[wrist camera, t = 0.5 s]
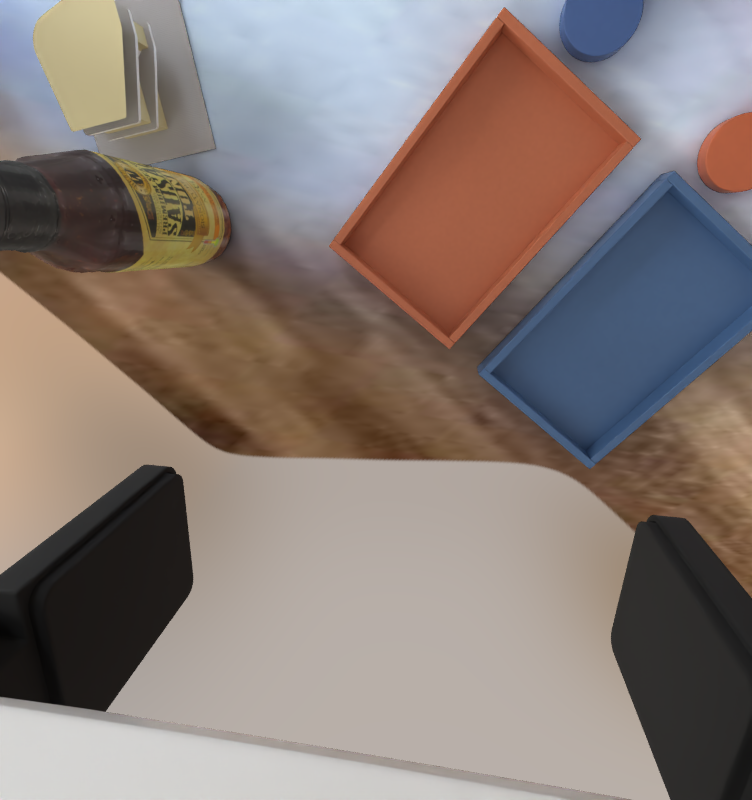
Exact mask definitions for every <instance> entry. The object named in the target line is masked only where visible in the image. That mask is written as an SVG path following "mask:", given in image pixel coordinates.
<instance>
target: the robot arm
mask: <svg viewBox="0 0 752 800" xmlns="http://www.w3.org/2000/svg"><path fill="white" fill-rule="evenodd" d="M192 585H193V570H192V561H191V551H190V542H189V532H188V524H187V513H186V504H185V495H184V486H183V479H182V477H181V476H180V475H179V474H176V472H175V470H174V469H173V468H172V467H166V466H155V465H143V466H141V467H140V468H139V469H138V470H136V471H135V472H134V473H132V474H131V475H130V476H128V477H127V478H126V479H124V480H123V481H122V482H121V483H119V484H118V485H117V486H115V487H114V488H113V489H111V490H110V491H109V492H108V493H106V494H105V495H104V496H102V497H101V498H100V499H98V500H97V501H96V502H94V503H93V504H92V505H91V506H90V507H88V508H87V509H85V510H84V511H83V512H81V513H80V514H79V515H78V516H76V517H75V518H74V519H72V520H71V521H70V522H68V523H67V524H66V525H65V526H63V527H62V528H61V529H60V530H58V531H57V532H55V533H54V534H53V535H51V536H50V537H49V538H48V539H46V540H45V541H44V542H42V543H41V544H40V545H38V546H37V547H36V548H35V549H33V550H32V551H31V552H29V553H28V554H27V555H25V556H24V557H23V558H22V559H20V560H19V561H18V562H16V563H15V564H14V565H12V566H11V567H10V568H8V569H7V570H6V571H5V572H3V573H2V574H1V575H0V800H630V799H624V798H619V797H614V796H607V795H602V794H596V793H591V792H585V791H579V790H573V789H567V788H562V787H556V786H550V785H544V784H538V783H533V782H527V781H521V780H515V779H509V778H504V777H497V776H492V775H486V774H480V773H474V772H469V771H463V770H457V769H451V768H445V767H440V766H434V765H428V764H422V763H416V762H410V761H404V760H397V759H392V758H385V757H380V756H374V755H368V754H362V753H356V752H350V751H344V750H338V749H332V748H326V747H320V746H313V745H308V744H302V743H295V742H289V741H283V740H277V739H271V738H265V737H259V736H253V735H247V734H240V733H235V732H228V731H222V730H215V729H210V728H203V727H197V726H190V725H185V724H178V723H171V722H165V721H159V720H153V719H147V718H141V717H133V716H128V715H121V714H115V713H109V712H106V710H107V709H108V707H109V706H110V705H111V703H112V702H113V700H114V699H115V698H116V696H117V695H118V693H119V692H120V691H121V689H122V688H123V686H124V685H125V684H126V682H127V681H128V679H129V678H130V676H131V675H132V674H133V672H134V671H135V670H136V668H137V667H138V665H139V664H140V663H141V661H142V660H143V658H144V657H145V655H146V654H147V652H148V651H149V650H150V648H151V647H152V646H153V644H154V643H155V641H156V640H157V639H158V637H159V636H160V635H161V633H162V632H163V630H164V629H165V628H166V626H167V625H168V623H169V622H170V621H171V619H172V618H173V616H174V615H175V614H176V612H177V611H178V609H179V608H180V607H181V605H182V604H183V602H184V601H185V600H186V598H187V597H188V595H189V593H190V591H191V589H192ZM611 644H612V649H613V652H614V655H615V658H616V660H617V663H618V665H619V668H620V670H621V673H622V676H623V678H624V681H625V683H626V686H627V689H628V691H629V694H630V696H631V699H632V702H633V704H634V707H635V709H636V712H637V714H638V717H639V720H640V722H641V725H642V727H643V730H644V732H645V735H646V738H647V740H648V743H649V745H650V748H651V751H652V753H653V755H654V758H655V761H656V763H657V766H658V769H659V771H660V774H661V776H662V779H663V782H664V784H665V787H666V789H667V792H668V794H669V797H670V799H671V800H752V598H751V597H750V596H749V594H748V593H747V592H746V591H745V590H744V588H743V587H742V586H741V585H740V583H739V582H738V581H737V580H736V579H735V577H734V576H733V575H732V574H731V572H730V571H729V570H728V569H727V568H726V566H725V565H724V564H723V563H722V562H721V560H720V559H719V558H718V557H717V555H716V554H715V553H714V552H713V551H712V549H711V548H710V547H709V546H708V544H707V543H706V542H705V541H704V540H703V538H702V537H701V536H700V535H699V534H698V532H697V531H696V530H695V529H694V527H693V526H692V525H691V524H690V523H689V521H687V520H686V519H685V518H677V517H667V516H657V515H652V516H650V517H649V518H648V520H647V522H642V521H641V522H639V524H638V525H637V528H636V531H635V536H634V540H633V544H632V548H631V553H630V557H629V561H628V565H627V569H626V573H625V578H624V582H623V585H622V590H621V594H620V598H619V602H618V606H617V610H616V614H615V619H614V623H613V627H612V632H611Z"/></svg>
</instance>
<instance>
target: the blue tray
mask: <svg viewBox="0 0 752 800" xmlns="http://www.w3.org/2000/svg"><path fill="white" fill-rule="evenodd" d="M751 331H752V245H751V244H750V243H749V242H748V241H747V240H746V239H744V238H743V237H742V236H741V235H740V234H739V233H738V232H737V231H736V230H735V229H734V228H733V227H732V226H731V225H730V224H729V223H728V222H727V221H726V220H725V219H724V218H723V217H722V216H721V215H720V214H719V213H718V212H716V211H715V210H714V209H713V208H712V207H711V206H710V205H709V204H708V203H707V202H706V201H705V200H704V199H703V198H702V197H701V196H700V195H699V194H698V193H697V192H696V191H695V190H694V189H693V188H692V187H691V186H690V185H688V184H687V183H686V182H685V181H684V180H683V179H682V178H681V177H680V176H679V175H678V174H677V173H676V172H675V171H672V172H669V173H665V174H661V175H660V176H659V177H658V178H657V179H656V180H655V181H654V182H653V183H652V185H651V186H650V187H649V188H648V189H647V190H646V191H645V192H644V193H643V194H642V195H641V196H640V197H639V198H638V199H637V200H636V201H635V202H634V203H633V204H632V205H631V206H630V208H629V209H628V210H627V211H626V212H625V213H624V214H623V215H622V216H621V217H620V218H619V219H618V220H617V221H616V222H615V223H614V224H613V225H612V226H611V227H610V228H609V230H608V231H607V232H606V233H605V234H604V235H603V236H602V237H601V238H600V239H599V240H598V241H597V242H596V243H595V244H594V245H593V246H592V247H591V248H590V249H589V250H588V252H587V253H586V254H585V255H584V256H583V257H582V258H581V259H580V260H579V261H578V262H577V263H576V264H575V265H574V266H573V267H572V268H571V269H570V270H569V271H568V272H567V274H566V275H565V276H564V277H563V278H562V279H561V280H560V281H559V282H558V283H557V284H556V285H555V286H554V287H553V288H552V289H551V290H550V291H549V292H548V293H547V294H546V296H545V297H544V298H543V299H542V300H541V301H540V302H539V303H538V304H537V305H536V306H535V307H534V308H533V309H532V310H531V311H530V312H529V313H528V314H527V315H526V316H525V318H524V319H523V320H522V321H521V322H520V323H519V324H518V325H517V326H516V327H515V328H514V329H513V330H512V331H511V332H510V333H509V334H508V335H507V336H506V337H505V338H504V340H503V341H502V342H501V343H500V344H499V345H498V346H497V347H496V348H495V349H494V350H493V351H492V352H491V353H490V354H489V355H488V356H487V357H486V358H485V359H484V360H483V362H482V363H481V364H480V365H479V366H478V367H477V368H478V373H479V375H480V376H481V377H482V378H484V379H485V380H486V381H487V382H488V383H489V384H491V385H492V386H493V387H494V388H495V389H496V390H498V391H499V392H500V393H501V394H502V395H504V396H505V397H506V398H507V399H508V400H509V401H511V402H512V403H513V404H514V405H515V406H516V407H518V408H519V409H520V410H521V411H522V412H523V413H525V414H526V415H527V416H528V417H529V418H530V419H532V420H533V421H534V422H535V423H536V424H537V425H539V426H540V427H541V428H542V429H543V430H545V431H546V432H547V433H548V434H549V435H550V436H552V437H553V438H554V439H555V440H556V441H557V442H559V443H560V444H561V445H562V446H563V447H564V448H566V449H567V450H568V451H569V452H570V453H571V454H573V455H574V456H575V457H576V458H577V459H578V460H580V461H581V462H582V463H583V464H584V465H586V466H587V467H588V468H589V469H591V468H592V467H593V466H594V465H595V463H597V462H599V461H600V460H601V459H602V458H603V457H604V456H606V455H607V454H608V453H609V452H610V451H611V450H613V449H614V448H615V447H616V446H617V445H619V444H620V443H621V442H622V441H623V440H624V439H626V438H627V437H628V436H629V435H630V434H631V433H633V432H634V431H635V430H636V429H637V428H638V427H640V426H641V425H642V424H643V423H644V422H645V421H647V420H648V419H649V418H650V417H651V416H652V415H654V414H655V413H656V412H657V411H658V410H660V409H661V408H662V407H663V406H664V405H665V404H667V403H668V402H669V401H670V400H671V399H672V398H674V397H675V396H676V395H677V394H678V393H679V392H681V391H682V390H683V389H684V388H685V387H686V386H688V385H689V384H690V383H691V382H692V381H693V380H695V379H696V378H697V377H698V376H699V375H701V374H702V373H703V372H704V371H705V370H706V369H708V368H709V367H710V366H711V365H712V364H713V363H715V362H716V361H717V360H718V359H719V358H720V357H722V356H723V355H724V354H725V353H726V352H727V351H729V350H730V349H731V348H732V347H733V346H734V345H736V344H737V343H738V342H739V341H740V340H742V339H743V338H744V337H745V336H746V335H747V334H749V333H750V332H751Z"/></svg>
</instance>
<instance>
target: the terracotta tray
mask: <svg viewBox="0 0 752 800" xmlns="http://www.w3.org/2000/svg"><path fill="white" fill-rule="evenodd" d="M640 140H641V138H640V137H639V136H638V135H637V134H636V133H635V132H634V131H633V130H631V129H630V128H629V127H628V126H627V125H626V124H625V123H624V122H623V121H622V120H621V119H620V118H619V117H618V116H617V115H616V114H615V113H614V112H613V111H612V110H611V109H610V108H609V107H608V106H607V105H606V104H605V103H603V102H602V101H601V100H600V99H599V98H598V97H597V96H596V95H595V94H594V93H593V92H592V91H591V90H590V89H589V88H588V87H587V86H586V85H585V84H584V83H583V82H582V81H581V80H580V79H579V78H578V77H577V76H575V75H574V74H573V73H572V72H571V71H570V70H569V69H568V68H567V67H566V66H565V65H564V64H563V63H562V62H561V61H560V60H559V59H558V58H557V57H556V56H555V55H554V54H553V53H552V52H551V51H550V50H549V49H547V48H546V47H545V46H544V45H543V44H542V43H541V42H540V41H539V40H538V39H537V38H536V37H535V36H534V35H533V34H532V33H531V32H530V31H529V30H528V29H527V28H526V27H525V26H524V25H523V24H522V23H521V22H519V21H518V20H517V19H516V18H515V17H514V16H513V15H512V14H511V13H510V12H509V11H508V10H507V9H506V8H505V7H504V8H503V9H502V10H501V12H500V13H499V14H498V16H497V18H495V20H494V21H493V23H492V24H491V25H490V27H489V28H488V29H487V31H486V32H485V33H484V35H483V36H482V38H481V39H480V40H479V42H478V43H477V44H476V46H475V47H474V49H473V50H472V51H471V53H470V54H469V55H468V57H467V58H466V59H465V61H464V62H463V64H462V65H461V66H460V68H459V69H458V70H457V72H456V73H455V74H454V76H453V77H452V79H451V80H450V81H449V83H448V84H447V85H446V87H445V88H444V89H443V91H442V92H441V94H440V95H439V96H438V98H437V99H436V100H435V102H434V103H433V104H432V106H431V107H430V109H429V110H428V111H427V113H426V114H425V115H424V117H423V118H422V119H421V121H420V122H419V124H418V125H417V126H416V128H415V129H414V130H413V132H412V133H411V134H410V136H409V137H408V139H407V140H406V141H405V143H404V144H403V145H402V147H401V148H400V149H399V151H398V152H397V154H396V155H395V156H394V158H393V159H392V160H391V162H390V163H389V164H388V166H387V167H386V169H385V170H384V171H383V173H382V174H381V175H380V177H379V178H378V179H377V181H376V182H375V184H374V185H373V186H372V188H371V189H370V190H369V192H368V193H367V194H366V196H365V197H364V199H363V200H362V201H361V203H360V204H359V205H358V207H357V208H356V209H355V211H354V212H353V214H352V215H351V216H350V218H349V219H348V220H347V222H346V223H345V224H344V226H343V227H342V229H341V230H340V231H339V233H338V234H337V235H336V237H335V238H334V240H333V241H332V242H331V244H330V245H329V247H330V248H331V249H333V250H334V251H335V252H336V253H337V254H338V255H340V256H341V257H342V258H343V259H344V260H345V261H347V262H348V263H349V264H350V265H351V266H352V267H354V268H355V269H356V270H357V271H358V272H359V273H361V274H362V275H363V276H364V277H365V278H367V279H368V280H369V281H370V282H371V283H372V284H374V285H375V286H376V287H377V288H378V289H379V290H381V291H382V292H383V293H384V294H385V295H386V296H388V297H389V298H390V299H391V300H392V301H393V302H395V303H396V304H397V305H398V306H399V307H400V308H402V309H403V310H404V311H405V312H406V313H408V314H409V315H410V316H411V317H412V318H413V319H415V320H416V321H417V322H418V323H419V324H420V325H422V326H423V327H424V328H425V329H426V330H427V331H429V332H430V333H431V334H432V335H433V336H434V337H436V338H437V339H438V340H439V341H440V342H441V343H443V344H444V345H445V346H446V347H447V348H449V349H450V348H451V347H452V346H453V345H454V344H455V343H456V341H457V340H458V339H459V338H460V337H461V336H462V335H463V334H464V333H465V332H466V331H467V329H468V328H469V327H470V326H471V325H472V324H473V323H474V322H475V321H476V320H477V319H478V317H479V316H480V315H481V314H482V313H483V312H484V311H485V310H486V309H487V308H488V306H489V305H490V304H491V303H492V302H493V301H494V300H495V299H496V298H497V297H498V296H499V294H500V293H501V292H502V291H503V290H504V289H505V288H506V287H507V286H508V285H509V283H510V282H511V281H512V280H513V279H514V278H515V277H516V276H517V275H518V274H519V273H520V271H521V270H522V269H523V268H524V267H525V266H526V265H527V264H528V263H529V262H530V260H531V259H532V258H533V257H534V256H535V255H536V254H537V253H538V252H539V251H540V250H541V248H542V247H543V246H544V245H545V244H546V243H547V242H548V241H549V240H550V239H551V237H552V236H553V235H554V234H555V233H556V232H557V231H558V230H559V229H560V228H561V227H562V225H563V224H564V223H565V222H566V221H567V220H568V219H569V218H570V217H571V216H572V215H573V213H574V212H575V211H576V210H577V209H578V208H579V207H580V206H581V205H582V204H583V202H584V201H585V200H586V199H587V198H588V197H589V196H590V195H591V194H592V193H593V192H594V190H595V189H596V188H597V187H598V186H599V185H600V184H601V183H602V182H603V181H604V179H605V178H606V177H607V176H608V175H609V174H610V173H611V172H612V171H613V170H614V169H615V167H616V166H617V165H618V164H619V163H620V162H621V161H622V160H623V159H624V158H625V156H626V155H627V154H628V153H629V152H630V151H631V150H632V149H633V147H635V145H636V144H637V143H638V142H639V141H640Z"/></svg>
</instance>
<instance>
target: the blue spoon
mask: <svg viewBox="0 0 752 800" xmlns="http://www.w3.org/2000/svg"><path fill="white" fill-rule="evenodd" d="M642 12H643V0H566V2H565V4H564V7H563V9H562V13H561V17H560V25H559V26H560V36H561V39H562V42H563V44H564V46H565V48H566V50H567V51H568V52H569V53H570V54H571V55H572V56H573V57H575V58H577V59H579V60H581V61H585V62H597V61H601V60H604V59H607V58H609V57H610V56H612V55H613V54H615V53H616V52H617V51H619V50H620V49H621V48H622V47H623V46H624V44H625V43H626V42H627V41H628V40H629V39H630V38H631V37H632V35H633V34H634V32H635V31H636V29H637V27H638V25H639V22H640V20H641V16H642Z"/></svg>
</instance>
